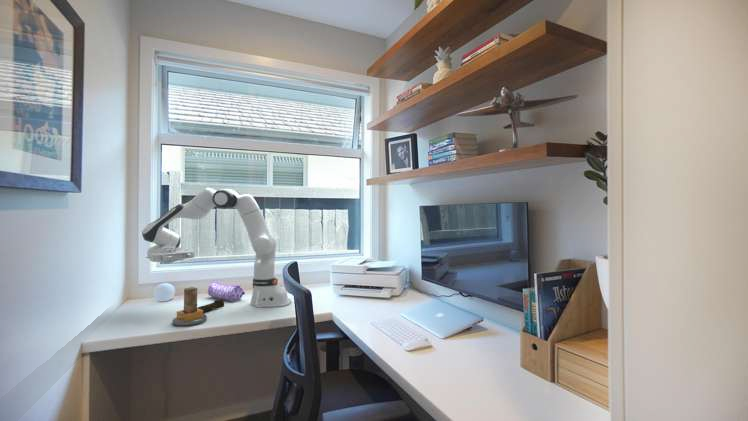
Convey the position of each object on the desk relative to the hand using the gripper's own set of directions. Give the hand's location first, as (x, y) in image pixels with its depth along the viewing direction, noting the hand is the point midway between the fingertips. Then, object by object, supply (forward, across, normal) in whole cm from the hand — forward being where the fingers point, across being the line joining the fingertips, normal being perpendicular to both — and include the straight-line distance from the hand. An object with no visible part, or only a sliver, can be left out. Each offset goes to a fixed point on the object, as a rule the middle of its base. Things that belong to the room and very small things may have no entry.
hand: (179, 257), depth 165 cm
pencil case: (-6, +29, +29) cm, 41 cm away
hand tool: (+8, +11, +29) cm, 32 cm away
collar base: (+18, -4, +28) cm, 34 cm away
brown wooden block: (+18, -4, +27) cm, 33 cm away
